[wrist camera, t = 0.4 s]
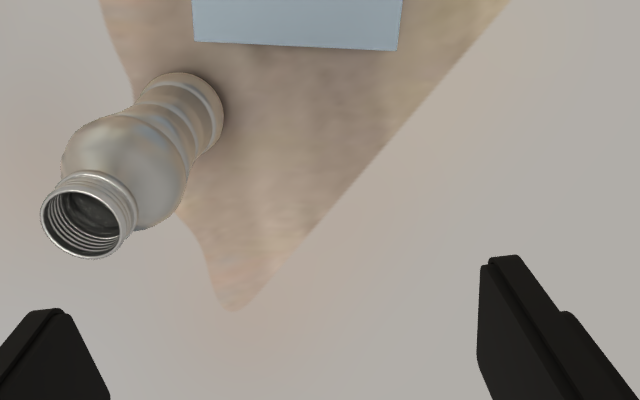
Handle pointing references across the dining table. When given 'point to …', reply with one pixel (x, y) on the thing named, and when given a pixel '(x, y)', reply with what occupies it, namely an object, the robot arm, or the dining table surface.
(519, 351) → the robot arm
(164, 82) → the plastic bottle
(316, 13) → the hole block
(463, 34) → the dining table surface
